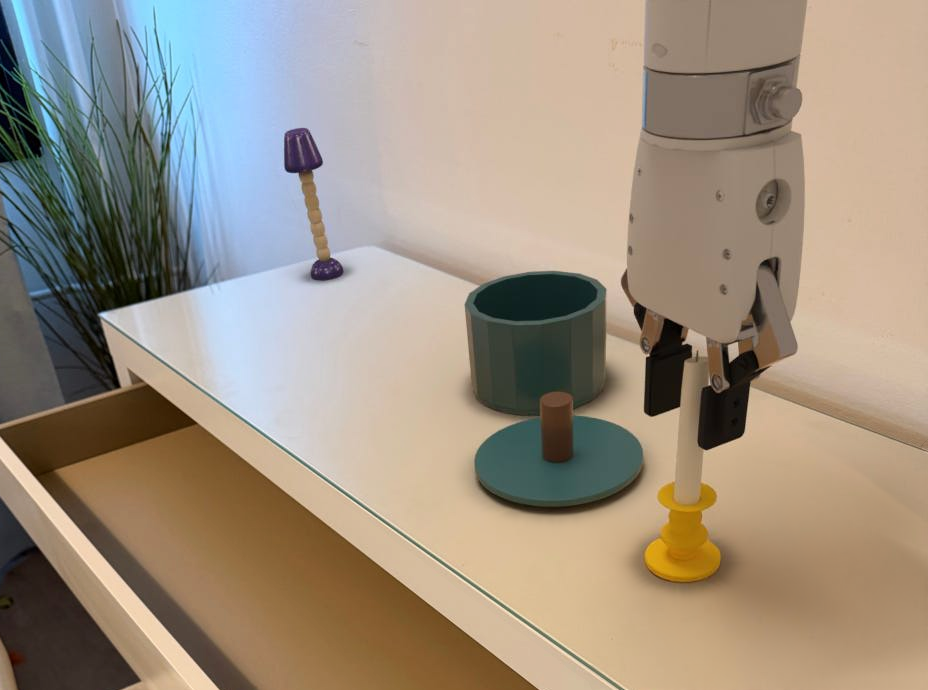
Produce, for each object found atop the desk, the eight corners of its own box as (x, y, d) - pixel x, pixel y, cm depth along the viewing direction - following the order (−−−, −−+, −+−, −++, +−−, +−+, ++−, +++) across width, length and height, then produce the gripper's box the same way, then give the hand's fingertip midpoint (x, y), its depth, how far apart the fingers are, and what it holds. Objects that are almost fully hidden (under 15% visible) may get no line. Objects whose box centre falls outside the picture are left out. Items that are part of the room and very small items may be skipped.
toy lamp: (310, 283, 117) (281, 137, 106) (303, 272, 121) (274, 130, 110) (347, 275, 118) (322, 129, 107) (338, 265, 121) (313, 122, 111)
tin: (514, 348, 96) (509, 265, 90) (627, 367, 90) (629, 278, 85) (448, 401, 88) (439, 313, 83) (567, 425, 83) (565, 332, 77)
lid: (526, 416, 85) (522, 351, 81) (669, 445, 78) (673, 375, 74) (443, 490, 76) (435, 422, 72) (597, 529, 70) (597, 456, 66)
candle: (631, 550, 67) (638, 344, 57) (696, 532, 68) (714, 325, 58) (666, 590, 63) (680, 376, 53) (734, 570, 64) (760, 356, 54)
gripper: (905, 109, 42) (837, 461, 54) (673, 69, 54) (659, 364, 66) (776, 144, 40) (735, 503, 52) (564, 94, 52) (569, 395, 64)
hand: (692, 422), depth 59 cm, fingers open, 4 cm apart
